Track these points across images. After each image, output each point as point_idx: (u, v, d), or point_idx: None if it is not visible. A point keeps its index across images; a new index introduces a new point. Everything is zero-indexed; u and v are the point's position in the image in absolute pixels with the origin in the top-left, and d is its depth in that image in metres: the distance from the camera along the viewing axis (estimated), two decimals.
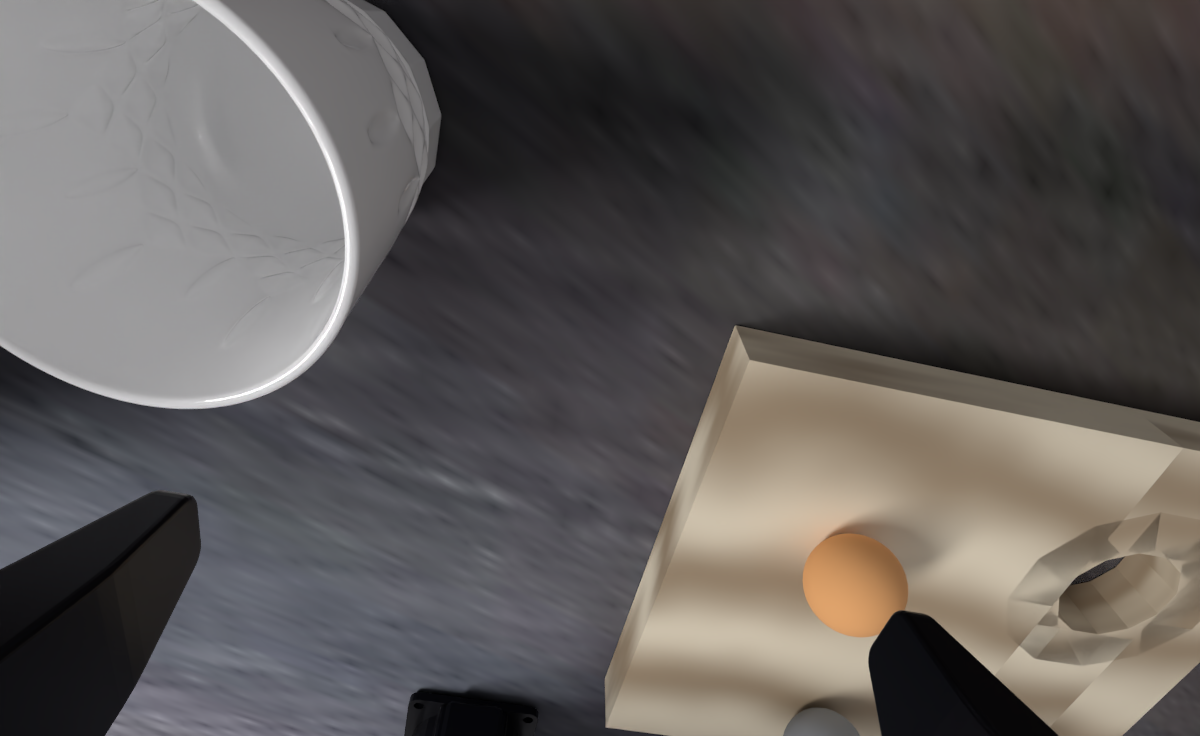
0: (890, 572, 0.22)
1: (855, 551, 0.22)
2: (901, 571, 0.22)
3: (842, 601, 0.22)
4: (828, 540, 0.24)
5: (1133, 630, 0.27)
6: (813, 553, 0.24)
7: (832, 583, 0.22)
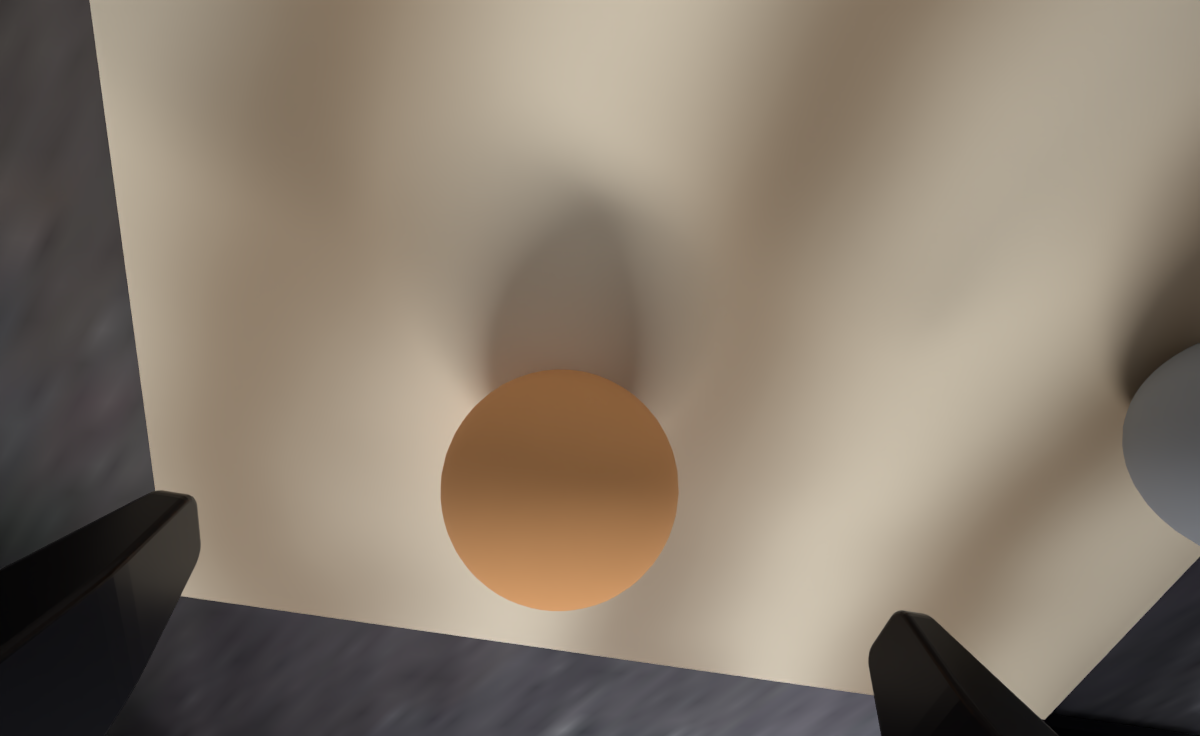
0: (451, 484, 0.09)
1: None
2: (472, 437, 0.09)
3: (512, 601, 0.09)
4: None
5: None
6: None
7: None
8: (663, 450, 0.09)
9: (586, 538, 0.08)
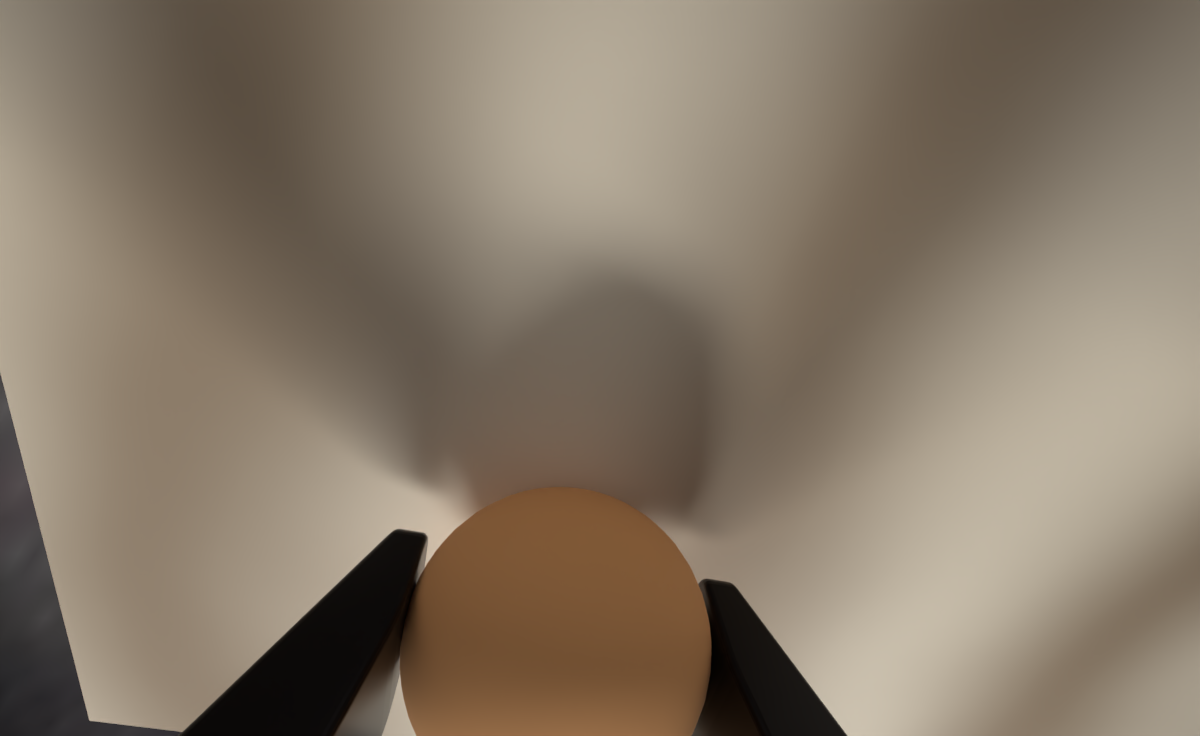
0: (410, 662, 0.07)
1: None
2: (439, 598, 0.07)
3: None
4: None
5: None
6: None
7: None
8: (693, 608, 0.07)
9: None
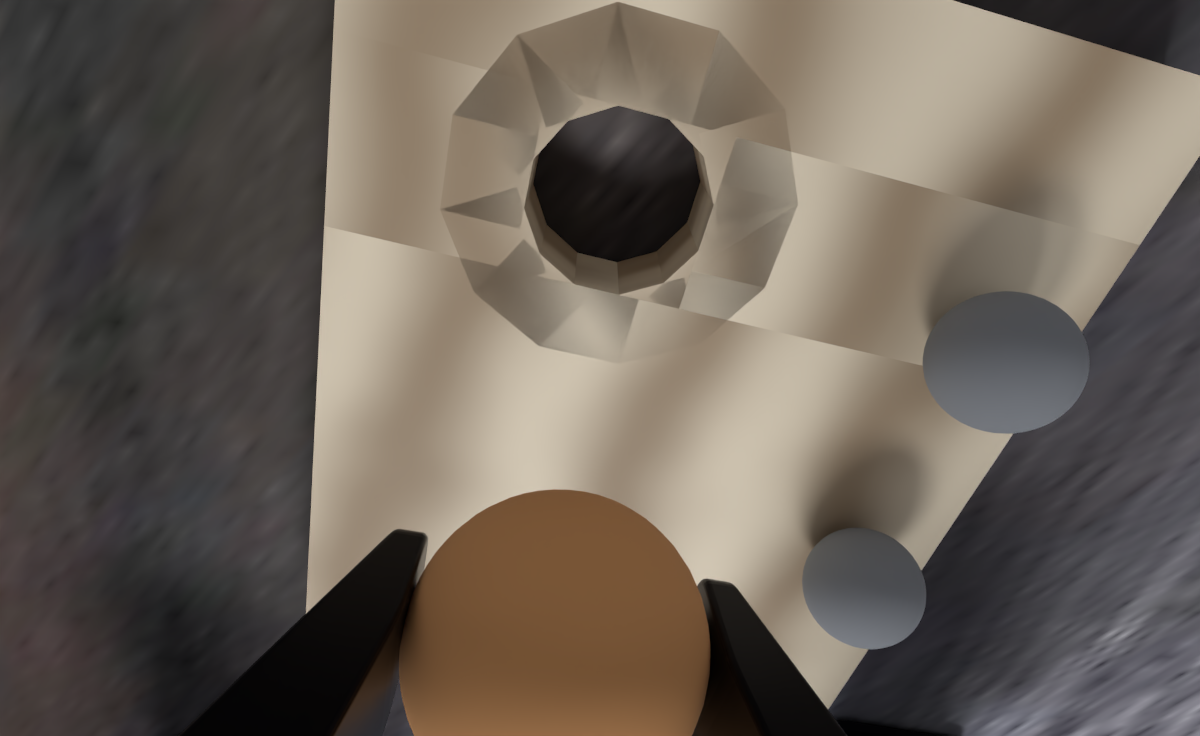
0: (410, 663, 0.07)
1: None
2: (438, 601, 0.07)
3: None
4: None
5: (709, 147, 0.15)
6: None
7: None
8: (692, 611, 0.07)
9: None
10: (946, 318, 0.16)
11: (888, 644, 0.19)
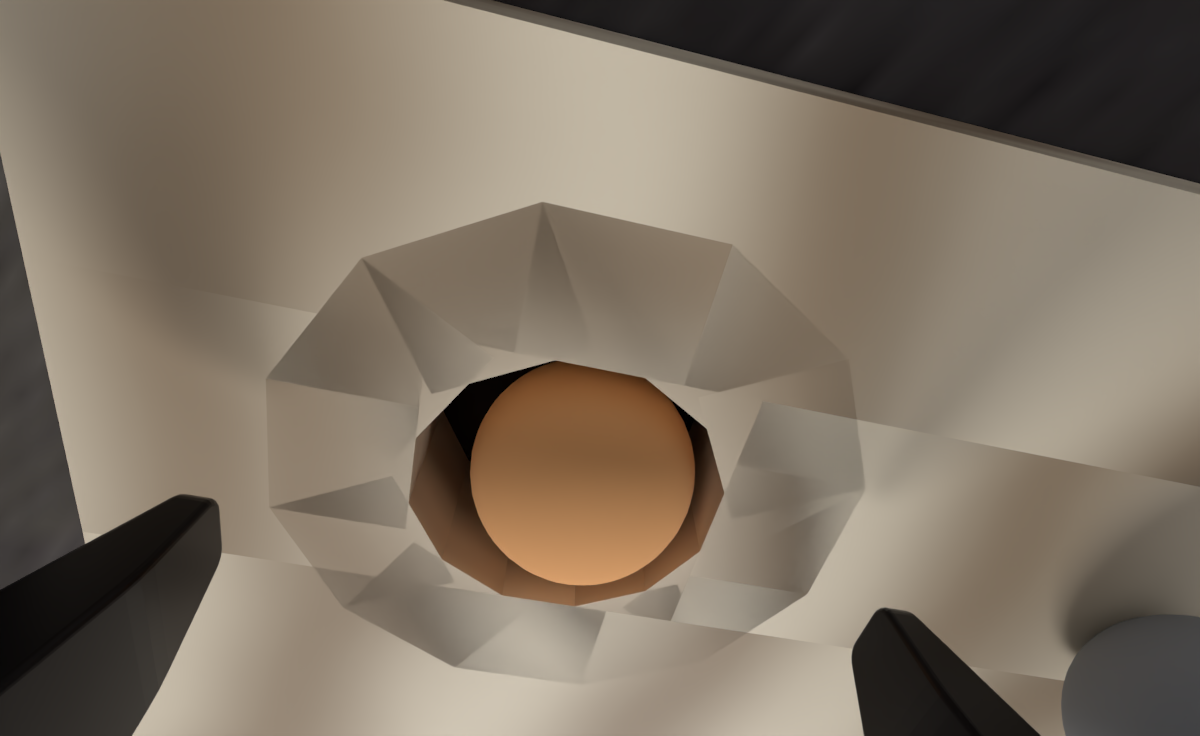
0: (490, 477, 0.09)
1: None
2: (507, 430, 0.09)
3: (554, 580, 0.10)
4: None
5: (716, 416, 0.09)
6: None
7: None
8: (682, 425, 0.10)
9: (630, 512, 0.09)
10: (1112, 669, 0.10)
11: None
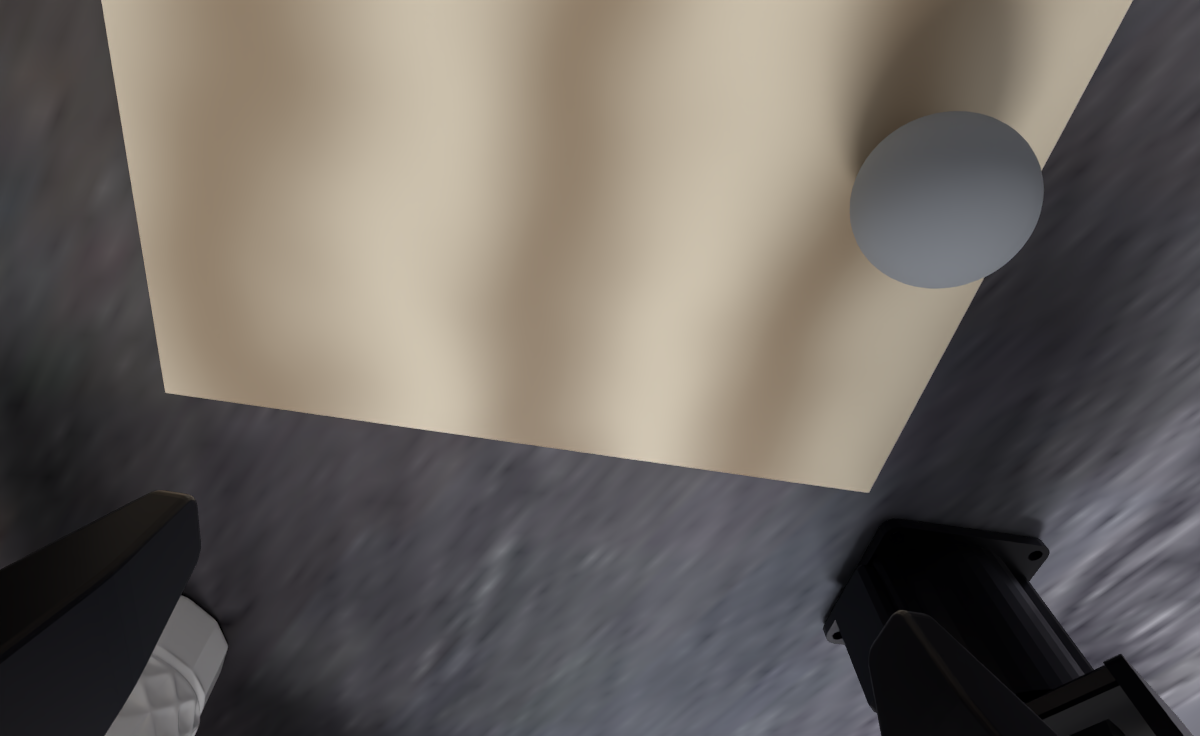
0: None
1: None
2: None
3: None
4: None
5: None
6: None
7: None
8: None
9: None
10: None
11: (990, 256, 0.12)
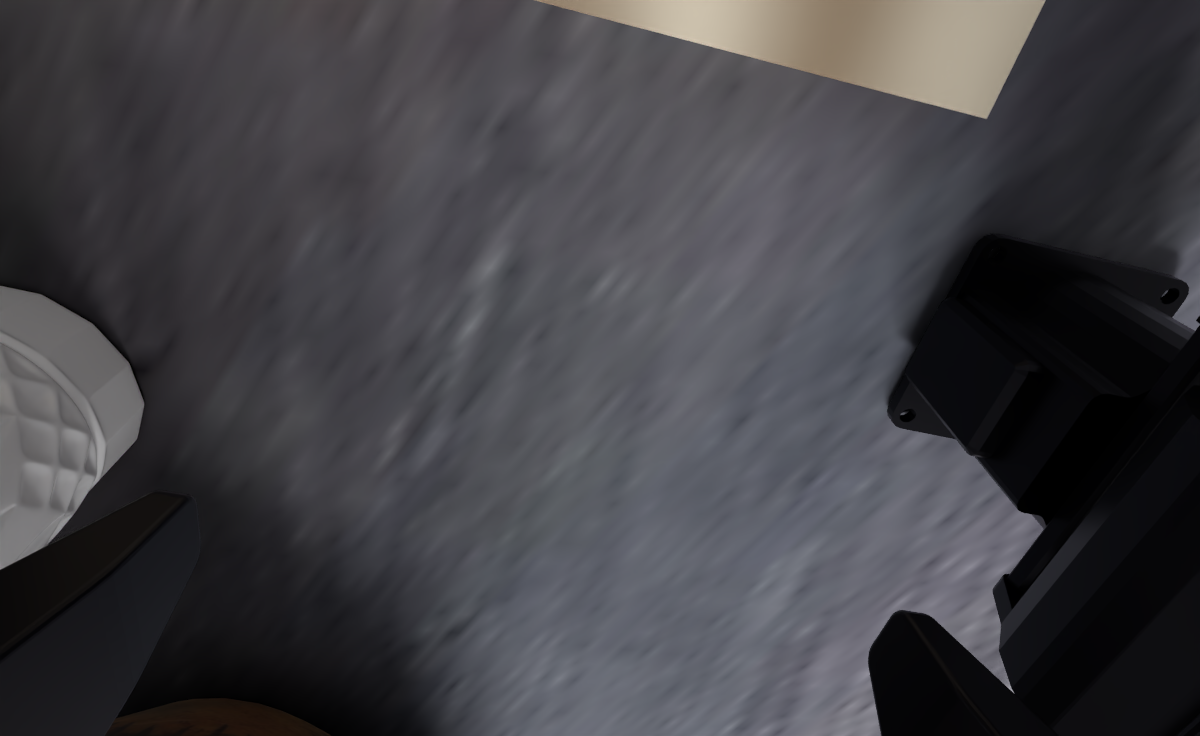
0: None
1: None
2: None
3: None
4: None
5: None
6: None
7: None
8: None
9: None
10: None
11: None
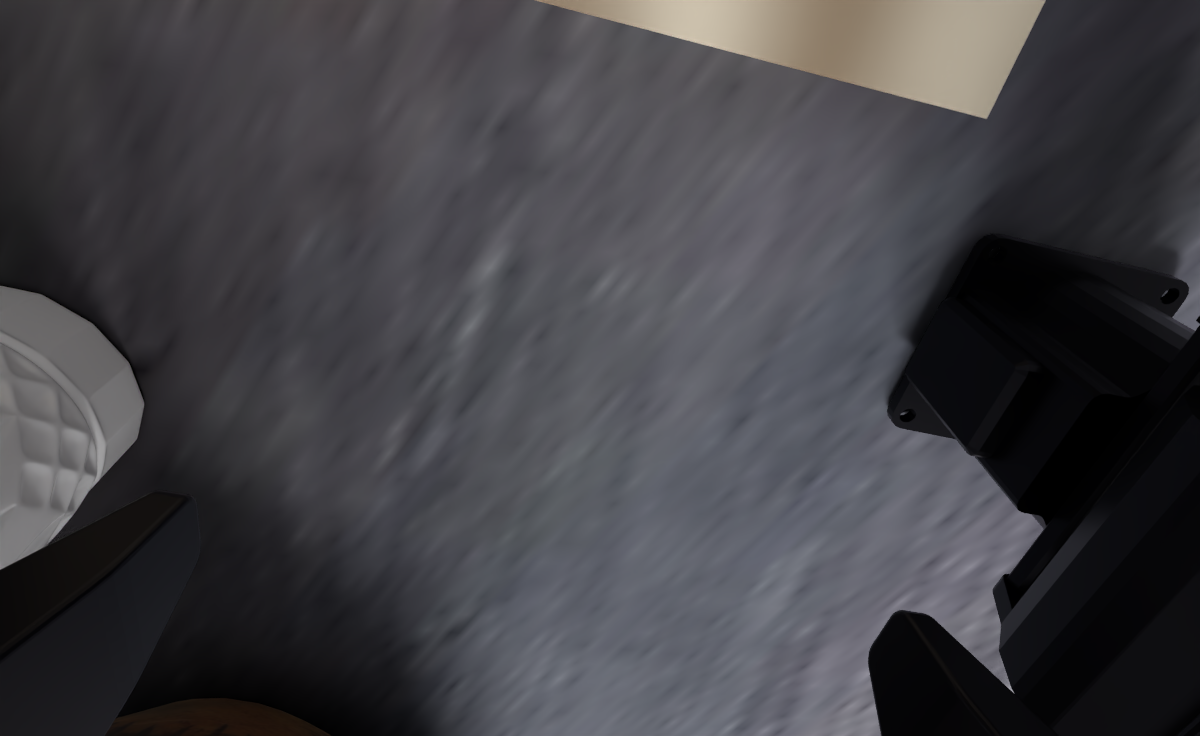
0: None
1: None
2: None
3: None
4: None
5: None
6: None
7: None
8: None
9: None
10: None
11: None
